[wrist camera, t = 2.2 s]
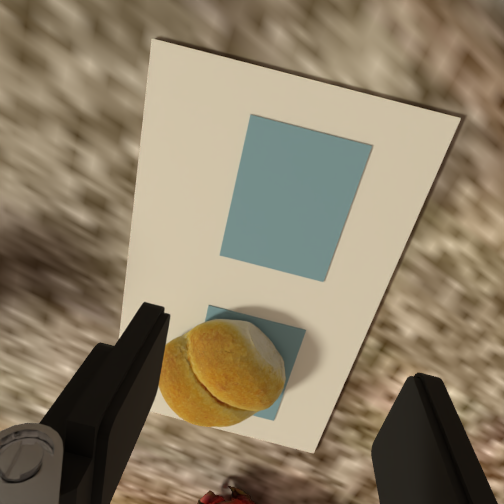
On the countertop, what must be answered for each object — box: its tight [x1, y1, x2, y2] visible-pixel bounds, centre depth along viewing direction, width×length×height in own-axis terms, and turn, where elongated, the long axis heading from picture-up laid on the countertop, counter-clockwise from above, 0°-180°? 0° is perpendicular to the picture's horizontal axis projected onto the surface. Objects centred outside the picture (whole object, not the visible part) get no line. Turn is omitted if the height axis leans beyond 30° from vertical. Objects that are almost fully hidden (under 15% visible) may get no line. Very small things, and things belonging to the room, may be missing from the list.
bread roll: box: [159, 319, 286, 427], centre depth 29 cm, size 8×9×4 cm
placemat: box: [119, 38, 461, 453], centre depth 28 cm, size 27×17×1 cm, turn 167°
